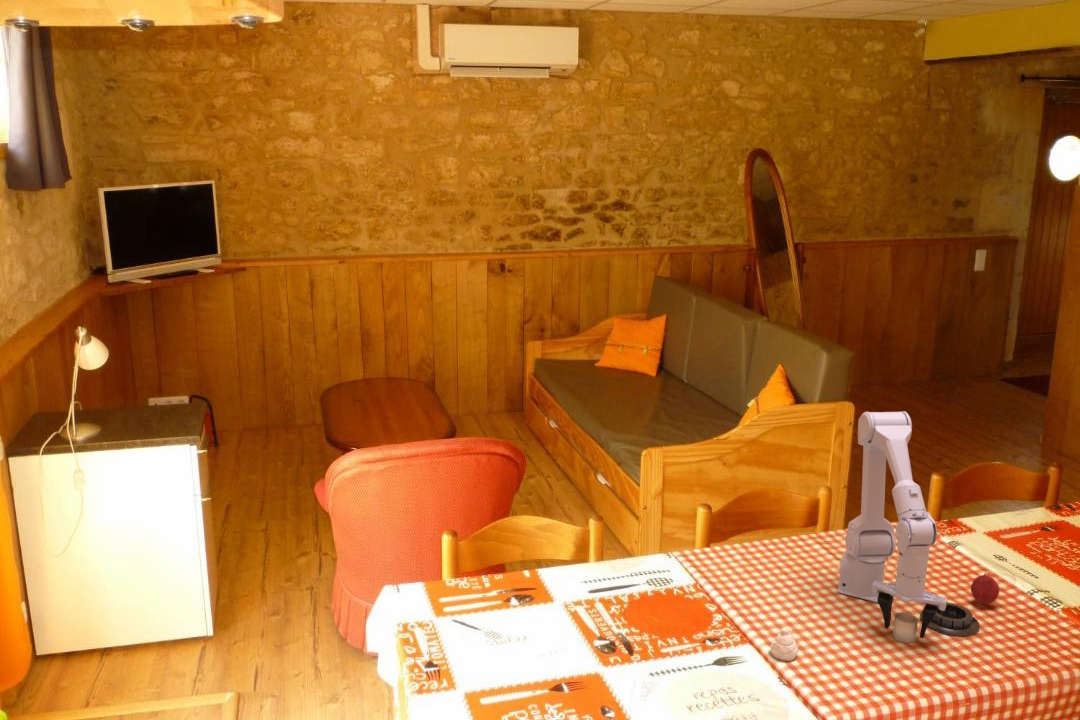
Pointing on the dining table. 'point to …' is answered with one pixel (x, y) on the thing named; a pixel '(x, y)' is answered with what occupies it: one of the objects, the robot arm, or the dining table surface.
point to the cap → (905, 627)
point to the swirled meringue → (784, 646)
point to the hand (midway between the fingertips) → (904, 631)
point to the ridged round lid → (954, 621)
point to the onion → (985, 589)
